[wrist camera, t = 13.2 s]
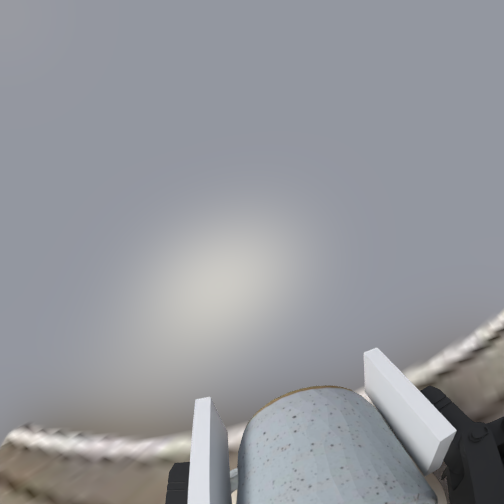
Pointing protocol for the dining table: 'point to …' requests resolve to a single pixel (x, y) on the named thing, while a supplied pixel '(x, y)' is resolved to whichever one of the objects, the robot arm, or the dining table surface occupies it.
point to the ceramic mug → (324, 454)
